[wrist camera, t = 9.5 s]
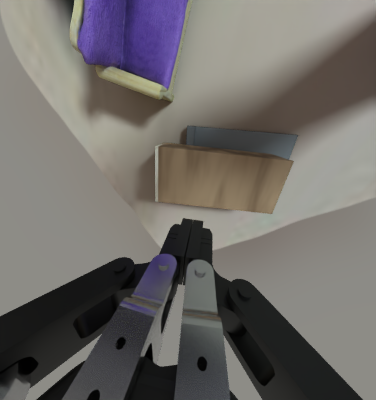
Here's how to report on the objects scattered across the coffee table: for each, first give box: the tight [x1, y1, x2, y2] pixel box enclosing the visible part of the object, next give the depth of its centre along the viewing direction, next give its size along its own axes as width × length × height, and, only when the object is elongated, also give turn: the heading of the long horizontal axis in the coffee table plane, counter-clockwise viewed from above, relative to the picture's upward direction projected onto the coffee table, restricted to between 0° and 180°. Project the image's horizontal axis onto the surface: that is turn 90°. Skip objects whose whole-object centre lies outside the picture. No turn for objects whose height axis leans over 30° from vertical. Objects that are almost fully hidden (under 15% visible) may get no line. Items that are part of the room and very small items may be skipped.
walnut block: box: [155, 142, 294, 214], centre depth 23 cm, size 6×8×18 cm
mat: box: [186, 126, 298, 160], centre depth 26 cm, size 17×14×2 cm
